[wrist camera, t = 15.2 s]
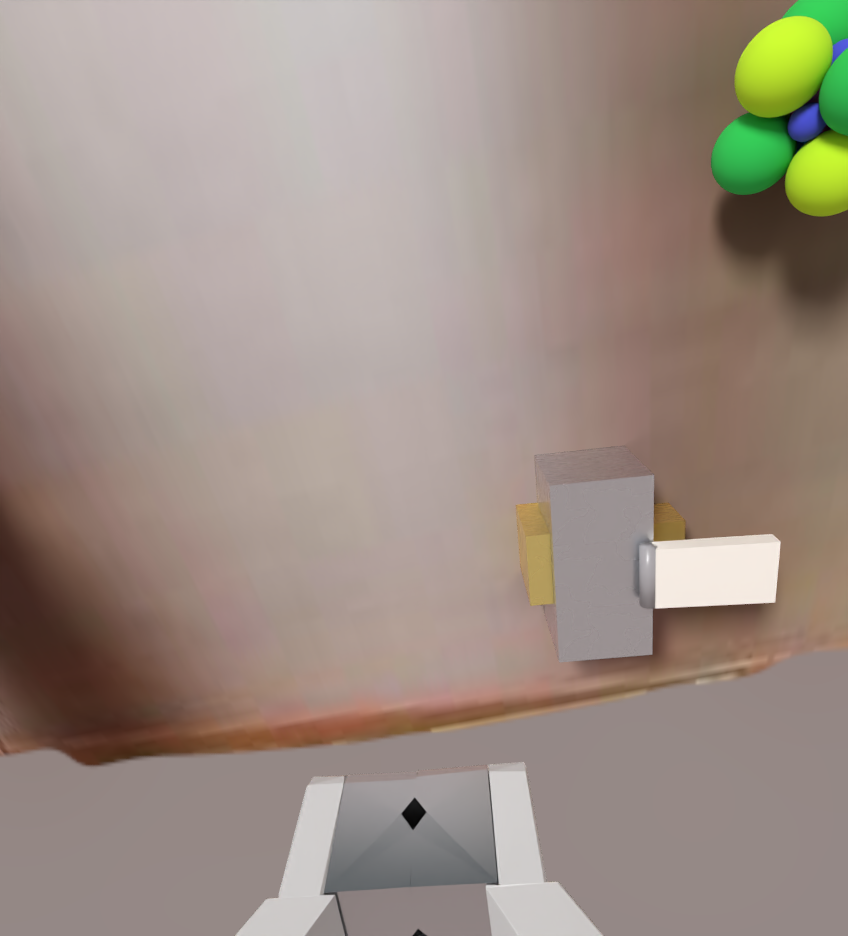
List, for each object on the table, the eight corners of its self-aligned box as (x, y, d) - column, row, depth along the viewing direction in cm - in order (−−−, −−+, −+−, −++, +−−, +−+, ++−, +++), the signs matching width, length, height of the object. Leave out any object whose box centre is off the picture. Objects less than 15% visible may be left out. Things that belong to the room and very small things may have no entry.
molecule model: (808, -31, 27) (734, 28, 25) (997, -12, 24) (936, 58, 21) (753, 135, 33) (689, 196, 31) (897, 168, 30) (839, 241, 27)
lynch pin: (520, 567, 42) (530, 605, 37) (515, 504, 40) (525, 536, 35) (666, 553, 41) (696, 590, 36) (668, 489, 39) (699, 519, 35)
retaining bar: (641, 609, 35) (775, 602, 34) (641, 550, 33) (780, 541, 33) (637, 599, 36) (767, 593, 35) (637, 542, 34) (772, 534, 33)
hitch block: (544, 612, 43) (559, 662, 38) (534, 455, 39) (549, 485, 33) (625, 605, 42) (652, 654, 37) (624, 445, 38) (654, 474, 33)
